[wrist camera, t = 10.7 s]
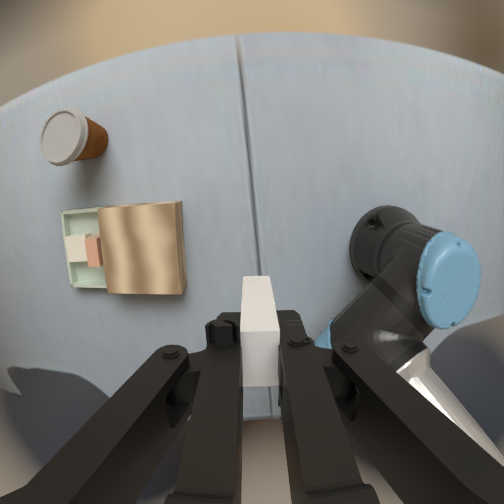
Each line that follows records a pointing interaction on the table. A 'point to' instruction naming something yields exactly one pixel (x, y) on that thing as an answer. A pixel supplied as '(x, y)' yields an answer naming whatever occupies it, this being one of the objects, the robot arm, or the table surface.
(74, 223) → the tray
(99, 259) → the terracotta tile
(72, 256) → the cream tile
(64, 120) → the disposable coffee cup
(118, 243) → the tan wooden flat block
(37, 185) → the table surface
